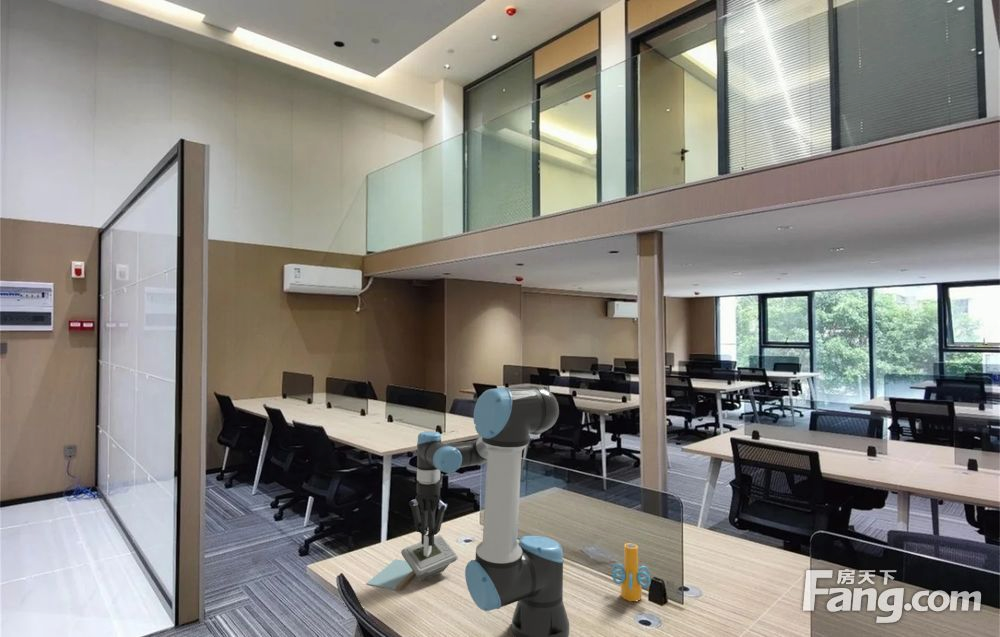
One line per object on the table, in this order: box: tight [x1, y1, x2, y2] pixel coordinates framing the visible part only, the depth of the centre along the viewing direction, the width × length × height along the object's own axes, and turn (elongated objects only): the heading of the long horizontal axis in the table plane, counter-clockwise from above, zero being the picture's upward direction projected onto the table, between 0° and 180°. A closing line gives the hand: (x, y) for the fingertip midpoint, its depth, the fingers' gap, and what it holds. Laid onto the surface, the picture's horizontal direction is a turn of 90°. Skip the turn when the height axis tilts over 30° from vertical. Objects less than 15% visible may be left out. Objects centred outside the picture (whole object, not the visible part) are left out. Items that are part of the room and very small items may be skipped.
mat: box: [366, 558, 417, 591], centre depth 159 cm, size 12×18×1 cm, turn 162°
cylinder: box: [612, 542, 652, 602], centre depth 146 cm, size 12×10×15 cm
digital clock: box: [400, 534, 459, 582], centre depth 158 cm, size 16×9×11 cm
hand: (427, 554), depth 157 cm, fingers closed
